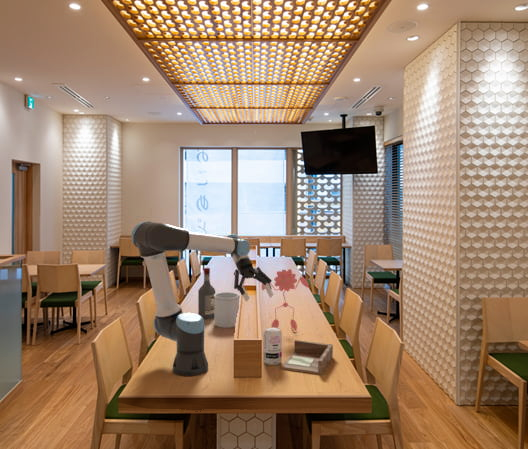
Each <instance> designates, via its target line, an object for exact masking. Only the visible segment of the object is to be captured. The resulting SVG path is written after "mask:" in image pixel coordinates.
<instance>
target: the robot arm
mask: <svg viewBox="0 0 528 449" xmlns="http://www.w3.org/2000/svg"><path fill="white" fill-rule="evenodd" d="M130 239H131V242H132V244H133V246H135V247H136V248H138V252H139V255H140V258H143V259H144V261H145V265H146V269H147V273H148V277H149V280H150V285H151V288H152V293H153V296H154V299H155V303H156V308H157V309H156V311H155V313H154V314H155V317H154V318H153V328H154V330H155V333H157V334H158V335H160V337H163V338H165V339H168V340H171V341H173V342H176V354H175V355H174V356H175V357H174V359H173V360H174V361H173V364H172V373H174V374H175V375H177V376H180V377H195V376H200V375H203V374H206V372H208V371H209V362H208V358H207V356H206V353H205V319H203V318H202V317H201V316H200V315H198V314H197V313H194V312H193V313H191V312H183V309H182V306H181V304H178V303H177V299H176V295H175V291H174V286H173V282H172V278H171V275H170V271H169V270H170V269H169V267H168V262H167V258H166V253H167V252H185V251H186V250H189V251H199V252H207V253H217V254H218V253H219V254H227V255H230V256H231V258H232V260H233V262H234V265H235V267H236V269H235V270H234V273H233V275H234V282H233V284H234V285H233V289H234V290H237V292H238V291H239V292H240V293H239V294H240V296H243V299H244V301H245V302H248V301H249V300H250V296H249V294H248V292H247V290H246V288H245V286H243V285H244V282H245V279H246V280H247V279H254V280H257V281H258V282H259V283H261V284H262V283H263V284H264V285H265V286H264V287H265V289H264V290H265V291H266V292H267V293H266V294H268V297H269V298H270V299H271V298H272V297H273V296H274V292H273V290H272V288H273V287H272V286H271V284H272V279H271V278H270V277H269V276H268V275H267V274H266V273H265V272H263V270H261V268H260V267H259V266H257V267H255V268H254V267H253V262H252V261H251V259H250V256H249V253H250V251H251V243H250V241H249V240H247V239H243V238H240V236H239V235H238V234H236V233H232V234H229V235H227V236H222V235H221V236H220V235H214V234H207V233H202V232H201V233H200V232H194V231H189V230H188V229H187V228H182V227H179V226H175V225H171V224H168V223H163V222H153V221H141V222H139V223H137V224H136V225H135V226H134V227H133V229H132V231H131V234H130ZM240 275H241V279H240ZM239 281H240V282H239ZM270 283H271V284H270Z"/></svg>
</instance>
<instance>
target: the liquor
mask: <svg viewBox="0 0 528 449" xmlns="http://www.w3.org/2000/svg"><path fill="white" fill-rule="evenodd" d="M210 269H211V268H210V267H204V268H203V284H202V285H201V286H200V287H199V289H198V291H197V292H198V297H197V298H198V301H197V302H198V303H197V304H198V306H197V307H198V310H197V311H198V315H200V316H201V317H202V318H203V319H204V320H210V319H213V318H214V294H216V289H215V288H214V286H213V285H212V284H211V281H210V280H211V279H210V278H211V276H210V274H211V271H210Z"/></svg>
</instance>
